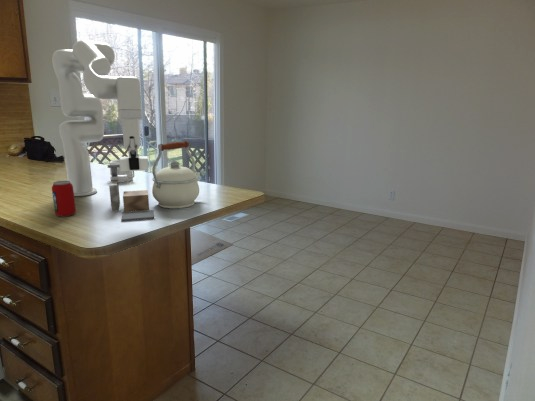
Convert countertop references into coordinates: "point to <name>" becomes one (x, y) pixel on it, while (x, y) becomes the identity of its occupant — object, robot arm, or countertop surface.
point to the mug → (119, 172)
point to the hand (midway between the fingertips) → (134, 167)
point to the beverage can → (63, 198)
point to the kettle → (175, 181)
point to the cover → (142, 163)
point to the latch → (114, 173)
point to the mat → (137, 215)
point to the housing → (128, 199)
